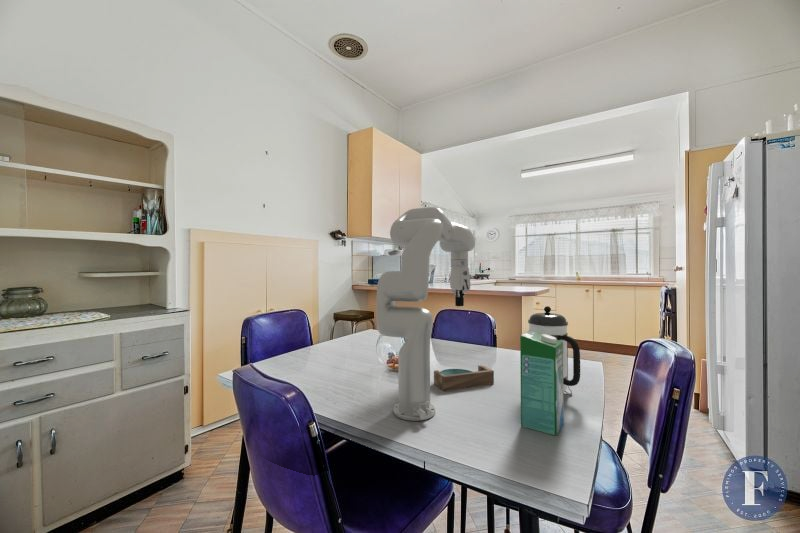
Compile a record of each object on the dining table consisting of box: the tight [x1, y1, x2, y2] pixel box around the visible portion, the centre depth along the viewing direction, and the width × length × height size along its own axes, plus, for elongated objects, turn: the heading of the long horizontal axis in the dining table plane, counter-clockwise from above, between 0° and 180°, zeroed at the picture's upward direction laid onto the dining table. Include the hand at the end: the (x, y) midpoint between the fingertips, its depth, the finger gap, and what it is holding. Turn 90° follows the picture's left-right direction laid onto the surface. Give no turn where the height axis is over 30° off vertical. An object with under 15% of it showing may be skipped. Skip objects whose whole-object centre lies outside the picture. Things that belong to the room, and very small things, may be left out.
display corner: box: [433, 364, 495, 392], centre depth 124 cm, size 8×21×5 cm, turn 111°
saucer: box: [439, 368, 474, 375], centre depth 129 cm, size 15×15×3 cm
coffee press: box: [527, 306, 581, 396], centre depth 115 cm, size 17×16×30 cm
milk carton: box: [519, 330, 565, 436], centre depth 92 cm, size 9×9×25 cm
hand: (459, 306), depth 144 cm, fingers closed
